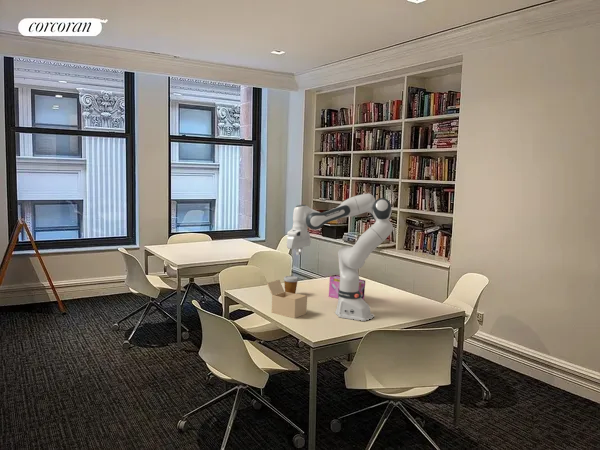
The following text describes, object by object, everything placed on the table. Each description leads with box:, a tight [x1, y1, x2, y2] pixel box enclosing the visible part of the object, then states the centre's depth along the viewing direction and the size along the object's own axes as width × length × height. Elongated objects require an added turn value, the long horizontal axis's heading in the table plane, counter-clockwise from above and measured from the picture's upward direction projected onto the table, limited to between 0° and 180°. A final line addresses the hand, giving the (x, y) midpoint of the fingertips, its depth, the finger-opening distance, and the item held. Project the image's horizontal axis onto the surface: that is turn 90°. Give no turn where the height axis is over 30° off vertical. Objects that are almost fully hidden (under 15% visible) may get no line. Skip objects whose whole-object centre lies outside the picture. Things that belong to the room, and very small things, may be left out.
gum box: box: [328, 274, 366, 301], centre depth 320 cm, size 24×8×14 cm, turn 54°
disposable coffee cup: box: [283, 275, 299, 294], centre depth 322 cm, size 10×10×12 cm
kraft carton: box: [271, 291, 308, 319], centre depth 283 cm, size 16×12×10 cm
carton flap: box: [266, 279, 285, 296], centre depth 288 cm, size 8×11×1 cm
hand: (298, 254), depth 297 cm, fingers closed
